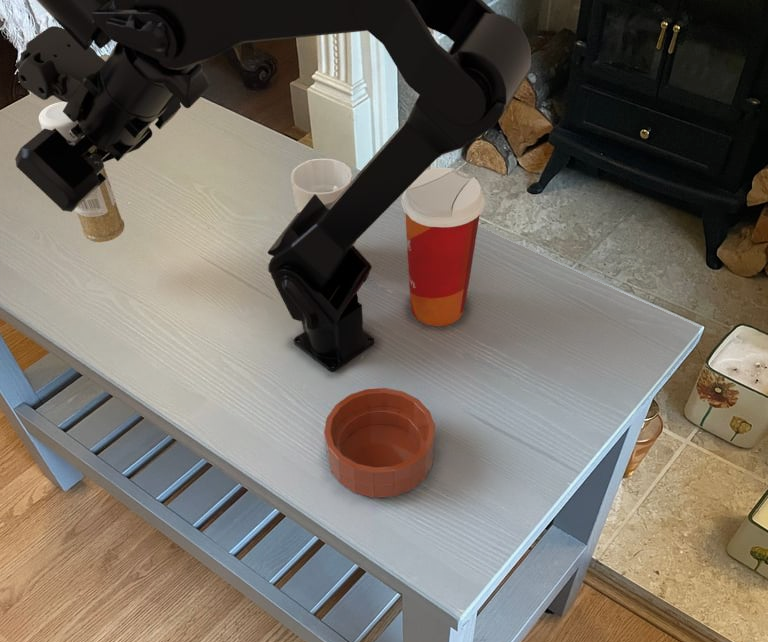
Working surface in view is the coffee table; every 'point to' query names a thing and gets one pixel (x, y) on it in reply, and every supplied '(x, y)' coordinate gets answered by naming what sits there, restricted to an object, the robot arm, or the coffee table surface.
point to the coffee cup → (441, 242)
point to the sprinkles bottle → (100, 205)
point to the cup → (319, 181)
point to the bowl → (380, 442)
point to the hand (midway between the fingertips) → (74, 173)
